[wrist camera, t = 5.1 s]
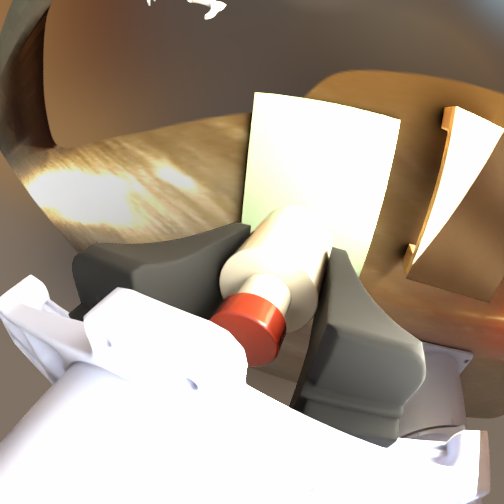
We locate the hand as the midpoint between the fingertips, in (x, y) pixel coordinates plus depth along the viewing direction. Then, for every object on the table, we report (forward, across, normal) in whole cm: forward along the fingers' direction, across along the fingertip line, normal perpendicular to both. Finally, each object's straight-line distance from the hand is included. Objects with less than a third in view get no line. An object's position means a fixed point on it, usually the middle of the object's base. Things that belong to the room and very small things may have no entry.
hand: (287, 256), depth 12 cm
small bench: (+9, -12, -3) cm, 15 cm away
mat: (+9, 0, 0) cm, 9 cm away
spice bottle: (+1, 0, 0) cm, 1 cm away
